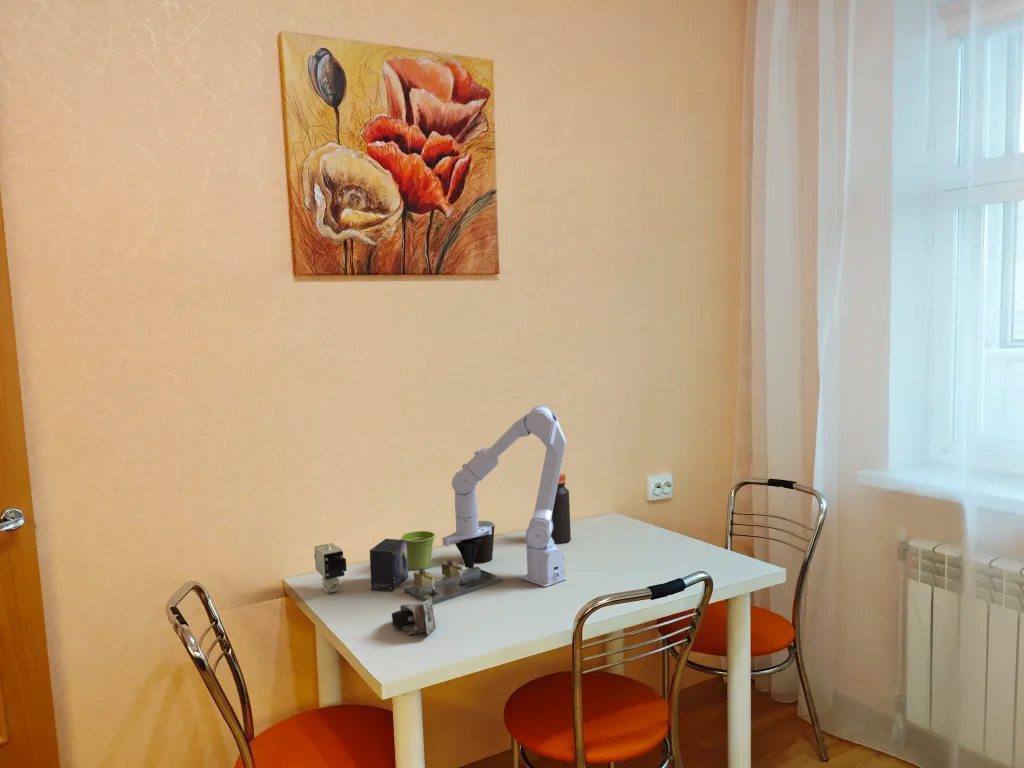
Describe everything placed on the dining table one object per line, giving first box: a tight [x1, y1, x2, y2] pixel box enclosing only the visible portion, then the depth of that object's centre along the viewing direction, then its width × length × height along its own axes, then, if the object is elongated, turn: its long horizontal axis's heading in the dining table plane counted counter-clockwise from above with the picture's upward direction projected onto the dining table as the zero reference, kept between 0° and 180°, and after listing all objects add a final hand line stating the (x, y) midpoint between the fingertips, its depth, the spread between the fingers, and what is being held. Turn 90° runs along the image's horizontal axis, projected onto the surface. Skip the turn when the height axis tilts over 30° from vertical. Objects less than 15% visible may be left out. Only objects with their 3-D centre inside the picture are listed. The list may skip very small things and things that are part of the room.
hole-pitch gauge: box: [403, 566, 504, 606], centre depth 187 cm, size 12×22×6 cm, turn 131°
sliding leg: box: [441, 559, 464, 583], centre depth 187 cm, size 7×3×5 cm, turn 41°
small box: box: [369, 538, 409, 592], centre depth 191 cm, size 11×6×10 cm, turn 167°
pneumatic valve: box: [313, 543, 348, 595], centre depth 188 cm, size 6×12×12 cm, turn 30°
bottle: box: [551, 473, 572, 545], centre depth 221 cm, size 7×7×20 cm
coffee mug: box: [474, 520, 496, 564], centre depth 209 cm, size 12×9×10 cm
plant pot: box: [400, 530, 436, 571], centre depth 204 cm, size 9×9×9 cm
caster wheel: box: [391, 598, 437, 636], centre depth 162 cm, size 7×11×10 cm
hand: (469, 567), depth 192 cm, fingers closed
